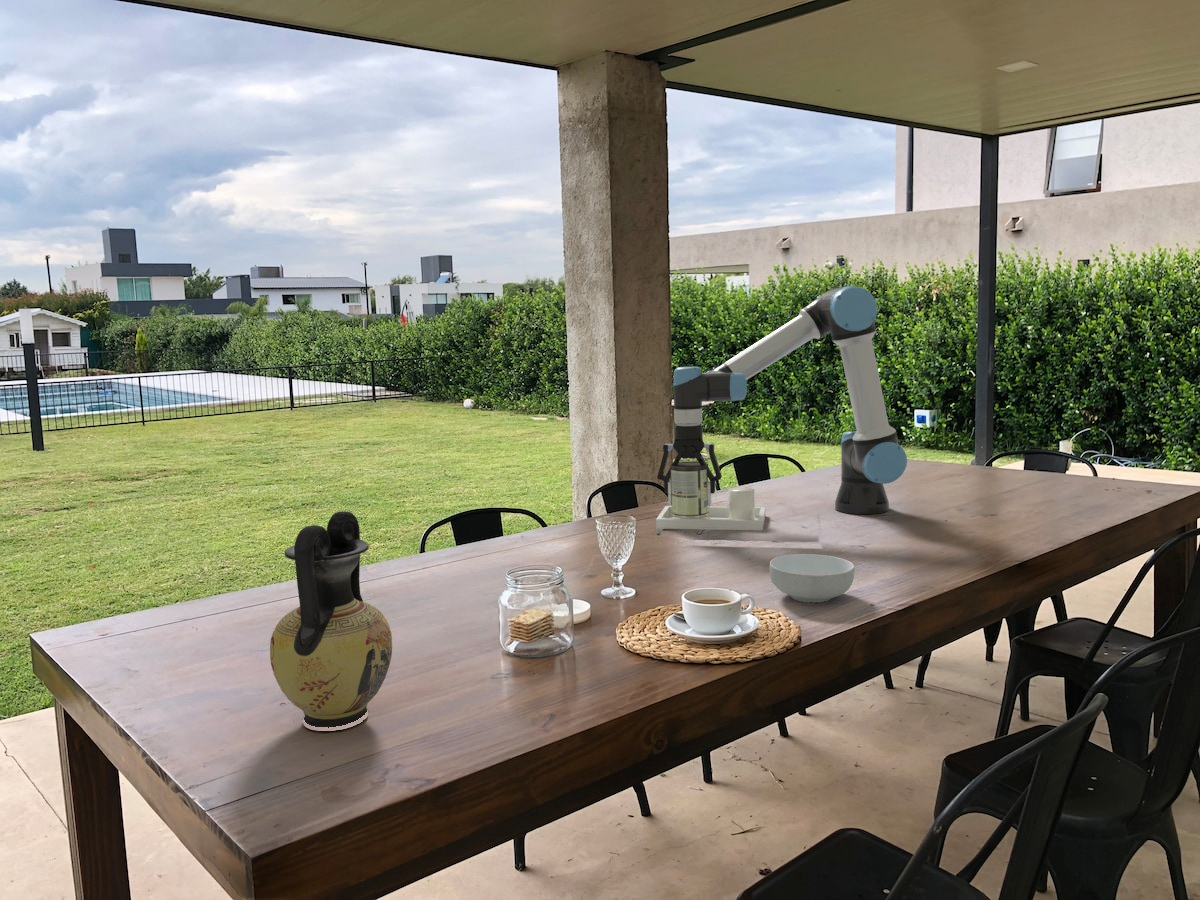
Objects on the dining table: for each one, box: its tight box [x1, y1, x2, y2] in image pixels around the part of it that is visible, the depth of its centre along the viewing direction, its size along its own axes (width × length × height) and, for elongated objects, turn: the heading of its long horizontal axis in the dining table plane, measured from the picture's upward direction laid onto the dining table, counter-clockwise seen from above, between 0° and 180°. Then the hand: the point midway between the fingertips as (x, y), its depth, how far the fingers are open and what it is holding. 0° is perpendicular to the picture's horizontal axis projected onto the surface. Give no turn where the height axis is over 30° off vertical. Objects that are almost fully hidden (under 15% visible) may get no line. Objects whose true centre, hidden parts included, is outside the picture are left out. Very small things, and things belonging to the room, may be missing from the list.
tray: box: [655, 505, 766, 535], centre depth 252 cm, size 28×18×4 cm, turn 78°
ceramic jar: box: [727, 486, 756, 520], centre depth 250 cm, size 7×7×9 cm
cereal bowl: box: [769, 553, 855, 604], centre depth 187 cm, size 17×17×7 cm
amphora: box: [269, 510, 393, 728], centre depth 133 cm, size 18×17×30 cm
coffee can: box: [669, 460, 709, 519], centre depth 253 cm, size 10×10×14 cm
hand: (689, 505), depth 253 cm, fingers closed on coffee can, 10 cm apart
